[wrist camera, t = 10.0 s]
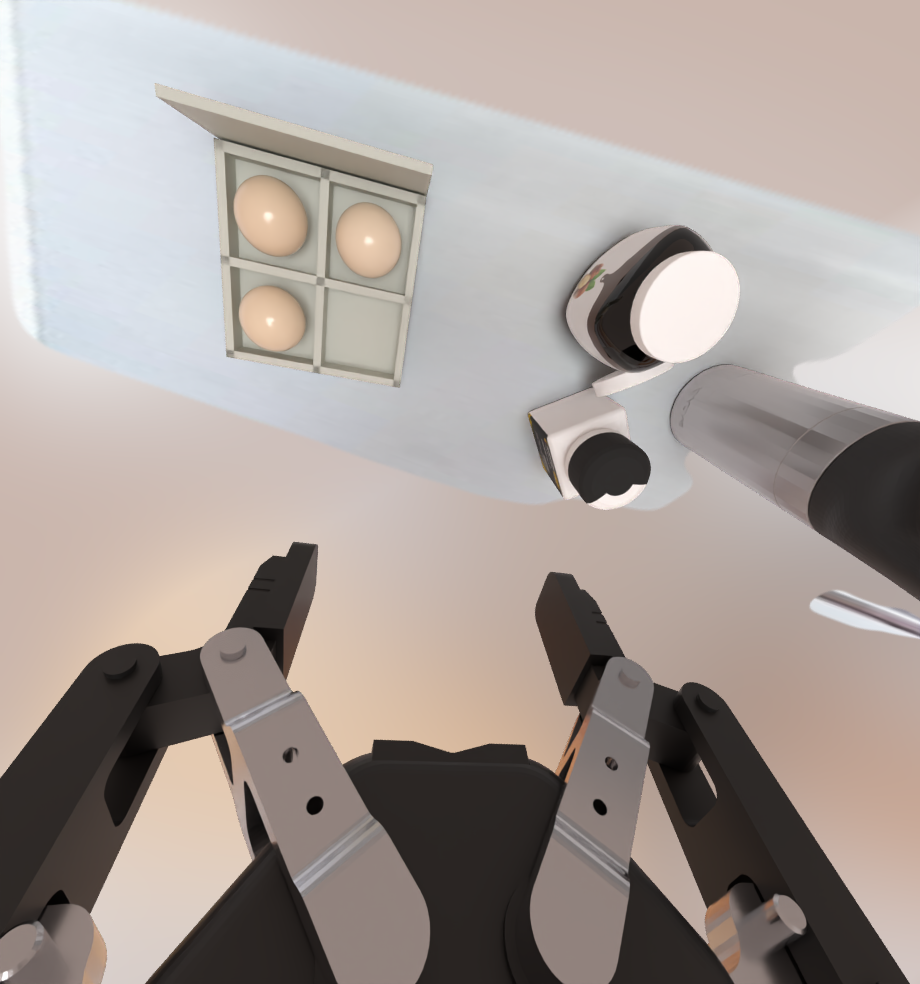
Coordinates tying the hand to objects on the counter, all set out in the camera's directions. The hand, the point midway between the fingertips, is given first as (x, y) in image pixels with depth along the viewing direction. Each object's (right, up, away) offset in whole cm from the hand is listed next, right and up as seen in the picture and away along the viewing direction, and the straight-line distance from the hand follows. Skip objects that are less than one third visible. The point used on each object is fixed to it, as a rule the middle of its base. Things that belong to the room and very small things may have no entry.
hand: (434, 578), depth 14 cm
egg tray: (-10, +20, +20) cm, 30 cm away
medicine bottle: (+12, +10, +29) cm, 33 cm away
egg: (-14, +18, +20) cm, 30 cm away
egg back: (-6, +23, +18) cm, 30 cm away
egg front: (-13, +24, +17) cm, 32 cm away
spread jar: (+15, +19, +24) cm, 34 cm away
